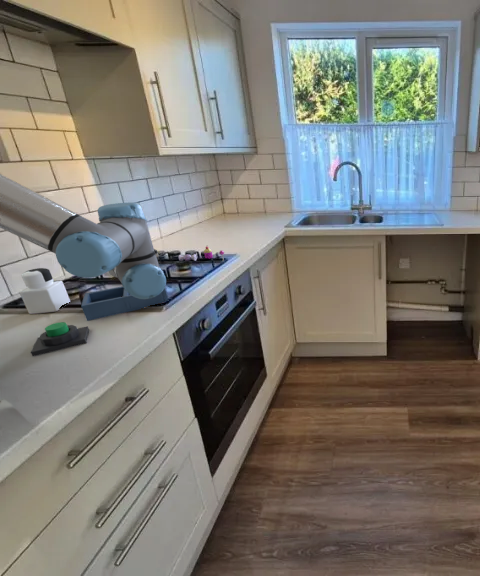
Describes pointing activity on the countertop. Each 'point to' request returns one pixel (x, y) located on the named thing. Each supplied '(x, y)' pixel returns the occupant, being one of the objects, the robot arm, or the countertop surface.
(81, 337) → the control block
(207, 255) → the set of multicoloured pieces
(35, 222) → the robot arm
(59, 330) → the button
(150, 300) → the rack
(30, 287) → the medicine bottle
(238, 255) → the countertop surface
